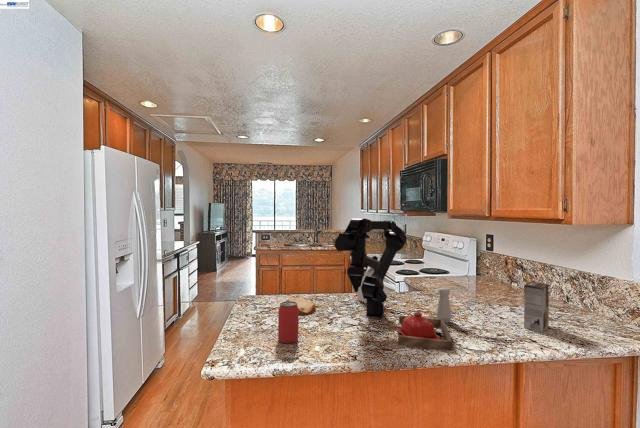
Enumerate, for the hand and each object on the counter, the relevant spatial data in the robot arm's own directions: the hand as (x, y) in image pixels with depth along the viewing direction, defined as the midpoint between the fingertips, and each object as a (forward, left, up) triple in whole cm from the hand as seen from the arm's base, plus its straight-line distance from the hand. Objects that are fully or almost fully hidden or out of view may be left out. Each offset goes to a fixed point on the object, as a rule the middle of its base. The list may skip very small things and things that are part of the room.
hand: (357, 289), depth 125 cm
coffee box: (+66, +11, -12) cm, 68 cm away
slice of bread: (-27, +8, -13) cm, 31 cm away
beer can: (-19, -27, -12) cm, 35 cm away
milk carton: (+1, +28, -12) cm, 31 cm away
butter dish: (+22, -11, -12) cm, 28 cm away
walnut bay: (+24, -9, -12) cm, 28 cm away
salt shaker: (+33, +8, -12) cm, 36 cm away
